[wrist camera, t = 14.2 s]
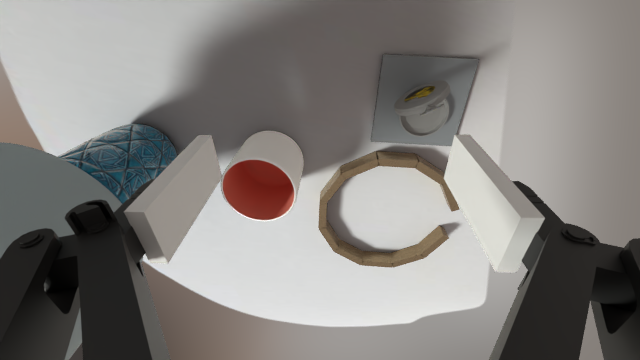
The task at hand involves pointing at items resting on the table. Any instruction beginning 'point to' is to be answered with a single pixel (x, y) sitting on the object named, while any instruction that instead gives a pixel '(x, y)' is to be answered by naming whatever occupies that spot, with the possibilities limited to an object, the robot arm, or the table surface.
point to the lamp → (76, 182)
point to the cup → (264, 176)
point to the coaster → (411, 73)
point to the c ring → (380, 257)
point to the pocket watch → (424, 108)
